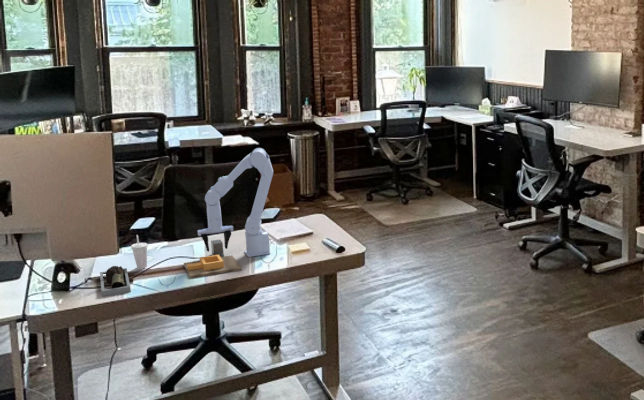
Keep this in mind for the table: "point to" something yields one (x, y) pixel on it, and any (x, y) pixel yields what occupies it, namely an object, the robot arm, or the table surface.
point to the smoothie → (140, 254)
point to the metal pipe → (115, 276)
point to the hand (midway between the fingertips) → (217, 249)
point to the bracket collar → (207, 263)
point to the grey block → (217, 247)
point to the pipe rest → (115, 290)
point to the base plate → (229, 266)
